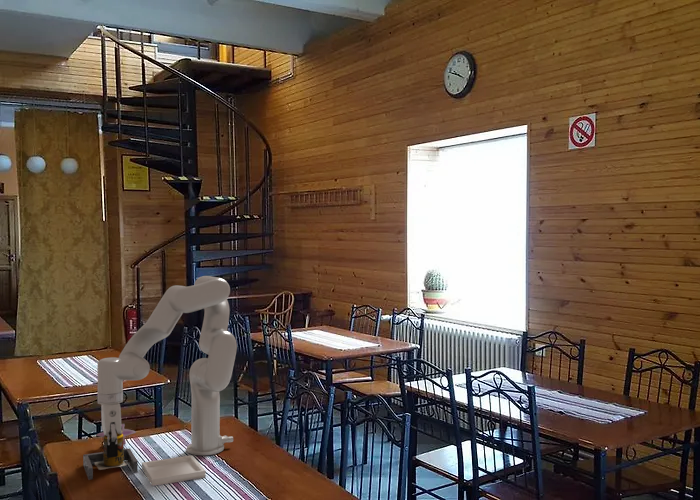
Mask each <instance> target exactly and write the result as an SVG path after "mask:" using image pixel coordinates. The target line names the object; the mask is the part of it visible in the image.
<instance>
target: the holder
mask: <svg viewBox="0 0 700 500" xmlns="http://www.w3.org/2000/svg"><path fill="white" fill-rule="evenodd" d="M82 456H83V457H82V458H83V459H82V460H83V462H82V463H83V464H82V465H83V468H84V471H85V474H86V477H87V479H88V481H91V480H94V478H93V477H94V475H93V474H94V473H93V472H94V470H93V469H94V468H93V466H96V465H95V462H102V461H104V451H100V452H94V453H87V454H83V455H82ZM124 462H127V463H128V464H127V465H128V466H129V467H130V469H131V471H132V472H133V473H134V474H136V473H138V471H139V470H138V469H139V468H138V467H139V466H138V465H139V464H138V463H139V462H138V459H137V458H136V456H135V454H134V453H133V450H131V448H130V447H129V448H124Z"/></svg>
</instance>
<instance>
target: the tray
mask: <svg viewBox="0 0 700 500" xmlns="http://www.w3.org/2000/svg"><path fill="white" fill-rule="evenodd" d="M141 470H142V471H143V473H144V475H145V476H146V477H147V479H148V481H149V483H150V485H151V487H154V486H160V485H161V486H162V485H167V484H168V485H169V484H173V483H178V482H183V481H190V480H196V479H197V480H198V479H203V478H206V476H207V475H206V472H207V471H206V469H205V468H204V467H203V466H202V465H201V464H200V463H199V461H198V460H197V459H196V458H195V456H194V455H193V454H189V455H184V456H176V457H169V458H162V459H156V460H150V461H144V462H141Z"/></svg>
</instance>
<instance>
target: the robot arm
mask: <svg viewBox="0 0 700 500" xmlns="http://www.w3.org/2000/svg"><path fill="white" fill-rule="evenodd" d="M230 294H231V287H230V284H229V283H228V282H227V280H225V279H223V278H222V277H217V276H210V275H203V276H200V277H198V278H197V279H196V280H195V281H194V285H189V286H184V285H176V284H175V285H172V286H170V287H169V288H167V290H166V291H165V292H164V294H163V295H162V297H161V299H160V300H159V302H158V303H157V305H156V306H155V308H154V309H153V312H152V313H151V315H150V316H149V317H148V319H147V321H145V323H144V324H143V325H142V326H141V327H140V328H139V329H138V330H137V331H136V332H135V333H134V334H133V335H132V336H131V337H130V339H129V340H128V341H127V343H126V344H125V346H124V348H123V349H122V350H121V352H120V354H119V355H118V357H115V356H114V357H111V356H110V357H104V358H101V359H99V360H98V362H97V368H96V369H97V404H98V405H101V417H100V418H101V428H102V432H104V436H105V435H106V436H107V441H108V445H107V458H111V457H117V456H118V444H117V433H118V434H119V435H120V434H121V433H122V429H121V424H122V412H121V411H122V410H121V409H122V408H121V404H120V403H123V402H124V401H123V400H124V393H123V392H124V390H123V389H124V387H123V386H124V384H123V383H124V382H123V381H141V380H143V379H144V378H146V377H147V376H148V375H149V374H150V373H149V372H150V371H151V370H150V369H151V368H150V367H151V366H150V363H149V361H148V360H146V359H145V356H146V354H147V352H148V351H149V350H150V349H151V347H152V346H154V344H156V343H158V342H160V341H162V340H164V339H166V338H168V337H169V336H170V335H171V333H172V331H174V328H175V326H176V324H177V323H178V321H179V320H180V319H181V317H182V315H183V314H189V313H193V312H197V311H200V310H204V316H203V321H202V327H201V330H200V331H201V332H200V336H199V342H198V347H199V349H200V350H201V352H203V353H204V354H206V355H208V357H202V358H198V359H196V360H195V361H194V362H192V365H191V366H190V369H189V376H188V377H189V382H190V393H191V394H190V395H191V412H190V413H191V418H190V419H191V420H190V421H191V430H190V431H191V435H190V438H191V439H190V440H191V443H189V444H188V445H187V446H186V452H187V454H188V453H189V455H192V456H210V455H211V456H213V455H216V454H219V453H221V452H223V451H224V449H225V445H224V444H225V443H233V442H234V436H228V435H223V436H222V435H221V434H220V430H221V429H220V425H221V424H220V423H221V419H220V418H221V417H220V412H221V411H220V409H221V408H220V407H221V406H220V405H221V404H220V403H221V401H220V400H221V396H220V392H221V391H224V390H225V389H226V387H228V385H229V383H230V381H231V379H232V377H233V370H234V366H235V360H236V355H237V349H238V345H237V340H236V337H235V335H234V334H232V332H230V331H228V327H229V320H230V313H231V312H230V311H231V310H230V304H229V301H228V298H229V296H230ZM109 433H111V435H109ZM110 437H111V438H110Z"/></svg>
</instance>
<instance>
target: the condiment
mask: <svg viewBox="0 0 700 500" xmlns="http://www.w3.org/2000/svg"><path fill="white" fill-rule="evenodd" d="M121 429H122V426H121ZM109 435H111V433H109ZM102 438H103V439H102V440H103V452H104V461H102V462H95V465H94V466H96V467H97V469H98V470H99V471H101V470H106V469H108V470H109V469H113V468H120V467H125V466H127V465H128V464H127V463H126V461H124V449H125V447H124V445H125V444H124V440H123V439H124V438H125V437H123V434H122V433H121V434H120V435H119V434H118V433H117V444H118V456H117V457H111V458H107V445H108V441H107V436H106V435H105V436H104V437H102ZM110 438H111V437H110Z"/></svg>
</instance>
